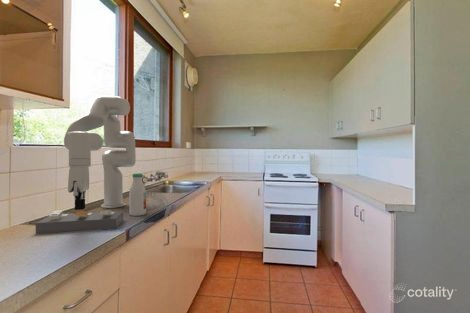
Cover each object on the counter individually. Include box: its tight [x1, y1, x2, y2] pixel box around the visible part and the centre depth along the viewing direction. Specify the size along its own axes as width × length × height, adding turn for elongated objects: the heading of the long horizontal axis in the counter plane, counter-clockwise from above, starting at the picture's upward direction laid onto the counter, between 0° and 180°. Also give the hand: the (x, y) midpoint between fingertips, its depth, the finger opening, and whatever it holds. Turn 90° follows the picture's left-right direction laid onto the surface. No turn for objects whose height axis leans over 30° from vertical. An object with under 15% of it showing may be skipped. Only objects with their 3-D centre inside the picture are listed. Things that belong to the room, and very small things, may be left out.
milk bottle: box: [128, 173, 147, 217], centre depth 128 cm, size 8×8×20 cm
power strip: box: [35, 210, 124, 234], centre depth 107 cm, size 14×28×4 cm, turn 103°
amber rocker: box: [75, 210, 89, 216], centre depth 106 cm, size 5×3×2 cm, turn 13°
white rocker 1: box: [48, 209, 64, 219], centre depth 103 cm, size 5×3×2 cm, turn 13°
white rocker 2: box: [99, 209, 112, 214], centre depth 108 cm, size 5×3×2 cm, turn 13°
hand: (80, 209), depth 104 cm, fingers closed
